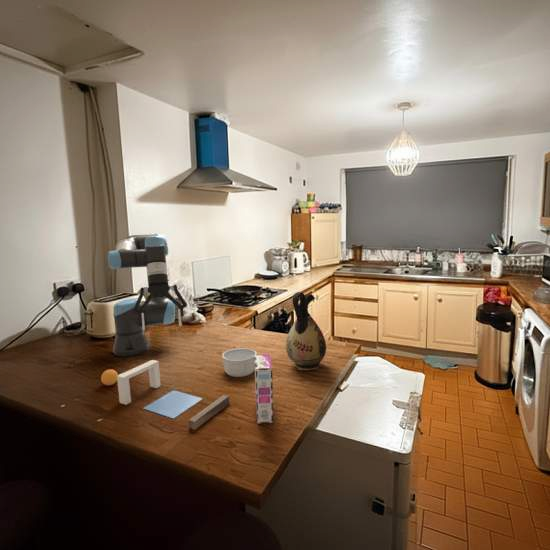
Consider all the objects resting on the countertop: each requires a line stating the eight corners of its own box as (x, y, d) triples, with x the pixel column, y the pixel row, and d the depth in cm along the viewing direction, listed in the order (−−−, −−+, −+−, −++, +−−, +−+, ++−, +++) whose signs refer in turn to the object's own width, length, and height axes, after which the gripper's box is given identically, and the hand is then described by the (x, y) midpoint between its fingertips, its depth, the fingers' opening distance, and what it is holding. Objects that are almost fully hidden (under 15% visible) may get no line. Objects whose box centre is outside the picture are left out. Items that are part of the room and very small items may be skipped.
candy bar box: (274, 423, 101) (272, 368, 98) (256, 424, 100) (254, 369, 98) (271, 403, 112) (269, 353, 109) (255, 404, 111) (253, 354, 109)
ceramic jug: (299, 355, 150) (298, 286, 145) (333, 363, 141) (332, 289, 136) (276, 370, 136) (274, 293, 131) (311, 379, 127) (310, 297, 123)
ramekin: (226, 364, 143) (225, 347, 142) (258, 363, 143) (258, 347, 142) (220, 379, 130) (219, 361, 129) (255, 378, 130) (255, 360, 129)
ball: (98, 386, 127) (96, 371, 126) (112, 379, 132) (110, 365, 131) (108, 389, 124) (106, 374, 124) (122, 382, 129) (120, 368, 128)
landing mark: (142, 408, 111) (142, 408, 111) (173, 390, 122) (173, 390, 122) (173, 418, 104) (173, 418, 104) (202, 399, 116) (202, 398, 116)
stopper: (189, 428, 99) (188, 420, 99) (224, 402, 113) (223, 394, 113) (194, 430, 98) (194, 421, 98) (229, 403, 112) (228, 396, 112)
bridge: (119, 402, 115) (116, 375, 113) (154, 384, 127) (152, 359, 126) (125, 404, 113) (123, 377, 112) (160, 385, 126) (158, 361, 124)
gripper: (123, 275, 134) (127, 331, 131) (190, 270, 143) (196, 323, 139) (124, 279, 141) (128, 332, 137) (188, 274, 150) (193, 324, 146)
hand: (162, 328), depth 138 cm, fingers open, 13 cm apart
